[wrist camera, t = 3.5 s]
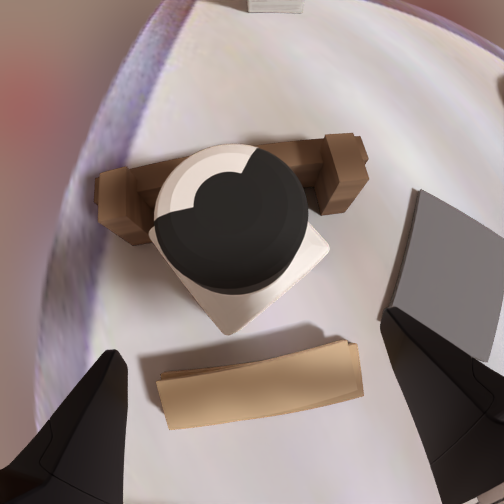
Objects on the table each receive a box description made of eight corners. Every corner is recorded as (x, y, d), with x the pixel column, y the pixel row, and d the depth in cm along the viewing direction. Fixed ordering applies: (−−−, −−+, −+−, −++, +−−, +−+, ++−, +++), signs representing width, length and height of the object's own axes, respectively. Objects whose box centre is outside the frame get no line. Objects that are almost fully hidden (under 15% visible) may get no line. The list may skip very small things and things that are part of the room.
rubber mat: (483, 361, 20) (487, 362, 19) (383, 323, 21) (386, 323, 21) (506, 244, 22) (509, 242, 22) (418, 191, 24) (421, 189, 23)
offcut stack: (358, 392, 20) (369, 399, 18) (174, 420, 20) (165, 430, 17) (351, 335, 21) (361, 336, 19) (164, 364, 21) (153, 368, 19)
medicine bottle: (310, 270, 22) (364, 215, 11) (236, 333, 21) (211, 346, 10) (249, 201, 24) (242, 97, 12) (176, 259, 23) (104, 196, 11)
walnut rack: (361, 210, 23) (389, 177, 17) (116, 248, 23) (78, 226, 17) (347, 161, 24) (367, 120, 19) (116, 198, 24) (82, 166, 18)
